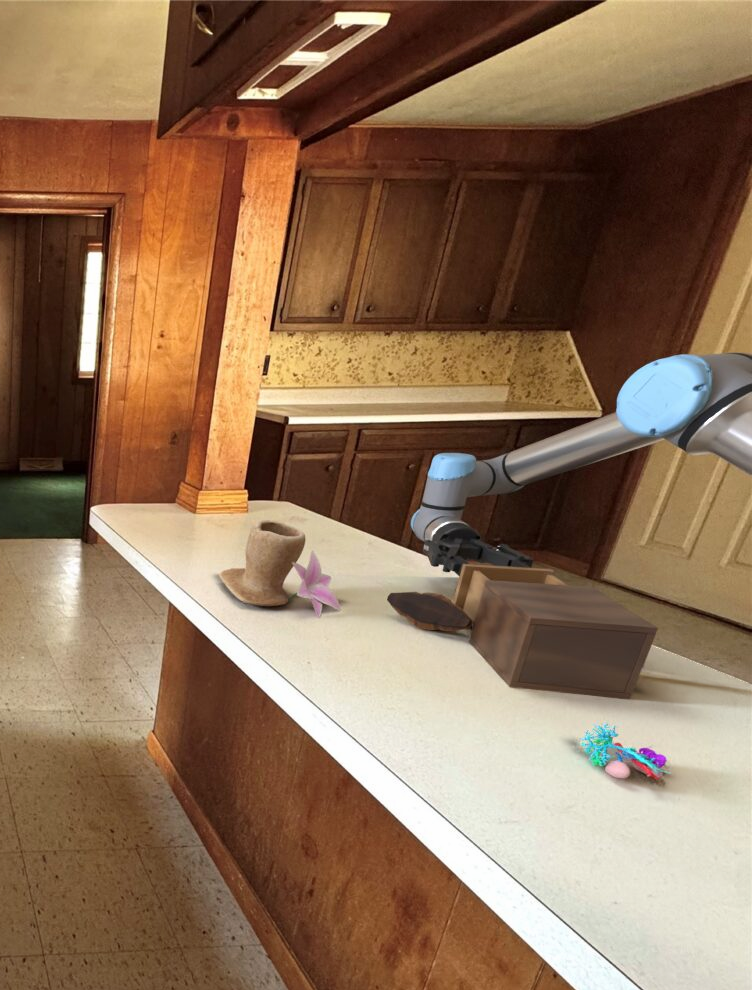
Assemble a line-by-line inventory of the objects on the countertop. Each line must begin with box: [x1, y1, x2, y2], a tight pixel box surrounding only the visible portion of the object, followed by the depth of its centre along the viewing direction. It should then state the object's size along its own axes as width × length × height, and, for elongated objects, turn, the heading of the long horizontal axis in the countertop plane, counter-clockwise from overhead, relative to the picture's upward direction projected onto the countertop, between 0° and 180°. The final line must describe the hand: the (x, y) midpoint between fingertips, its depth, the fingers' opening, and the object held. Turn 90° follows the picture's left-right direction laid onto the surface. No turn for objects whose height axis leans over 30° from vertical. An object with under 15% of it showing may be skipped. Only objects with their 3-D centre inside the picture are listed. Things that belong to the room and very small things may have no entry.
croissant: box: [386, 591, 473, 632], centre depth 113 cm, size 14×7×5 cm
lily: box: [288, 550, 342, 618], centre depth 123 cm, size 12×12×10 cm
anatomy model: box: [579, 722, 670, 781], centre depth 75 cm, size 5×8×7 cm
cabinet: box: [468, 580, 659, 700], centre depth 98 cm, size 16×14×11 cm
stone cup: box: [218, 519, 306, 607], centre depth 127 cm, size 15×12×15 cm
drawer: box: [452, 563, 567, 627], centre depth 110 cm, size 20×13×9 cm, turn 162°
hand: (498, 576), depth 115 cm, fingers closed on drawer, 8 cm apart
